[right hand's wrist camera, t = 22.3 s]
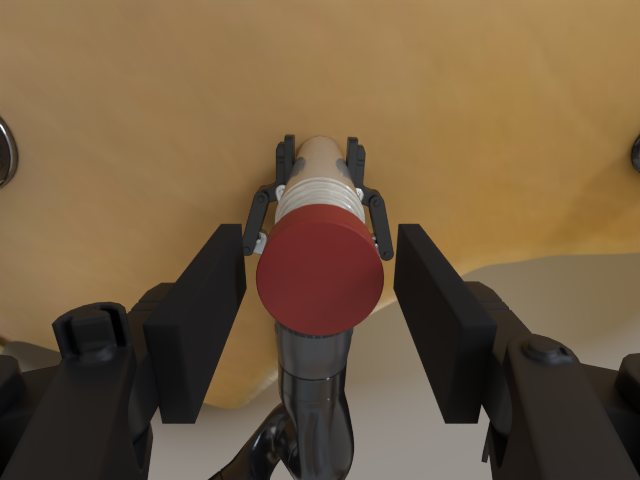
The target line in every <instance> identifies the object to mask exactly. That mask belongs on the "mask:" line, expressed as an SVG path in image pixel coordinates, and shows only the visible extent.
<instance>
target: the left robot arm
mask: <svg viewBox="0 0 640 480" xmlns="http://www.w3.org/2000/svg"><path fill="white" fill-rule="evenodd" d="M294 163H295V135H285V139H284V142H280V143H279V144H278V146H277V149H276V182H274V183H273V184H270V185H267V186H266V185H264V186H261V187H260V188H259V190H258V191H257V193H256V194H255V196H254V199H253V202H252V206H251V210H250V213H249V217H248V221H247V224H246V228H245V232H244V235H243V250H244V255H245V256H249V255H251V254H252V253H256V254H260V255H262V252H263V249H264V247H265V244H266V241H267V238H268V233H267V231H265V230H263V229H262V226H263V222H264V219H265V215H266V212H267V208H268V205H269V203H270V202H273V201H276V200H278V202H279V201H280V199H281V196H282V193H283V191H284V188H285V186H286V183H287V181H288V178H289V175H290V173H291V170H292V168H293V165H294ZM346 165H347V168H348V170H349V173H350V175H351V178H352V181H353V183H354V186H355V188H356V191H357V193H358V196H359V198H360V201H361V204H363V205H366V206H368V208H369V213H370V218H371V222H372V227H373V232H374V233H373V234H371V236H372V238H373V241H374V244H375V246H376V249H377V252H378V254H379V257H381V259H383V260H385V261H388V260H391V259H392V258H393V256H394V252H393V246H392V241H391V236H390V230H389V225H388V220H387V214H386V209H385V204H384V200H383V198H382V197H381V196H380V193H379V192H378V191H377V190H374V189H369V188H367V187H365V186H364V185H363V177H364V165H365V150H364V147H363V146H362V145H358V139H357V137H348V140H347V154H346ZM16 167H17V150H16V145H15V142H14V139H13V137H12V135H11V133H10V131H9V129H8V128H7V126H6V125H5V123H4V122H3V121H2V119H1V118H0V188H1V187H3V186H4V185H6V184H7V183H8V182H9V181H10V180H11V178H12V177H13V175H14V173H15V170H16ZM274 328H275V332H276V345H277V350H278V386H279V394H280V398H281V400H282V402H281V403H280V404H279V405H278V406H276V407H275V408H274V409H273V410H272V412H271V413H270V414H269V415H268V416H267V418H266V419H265V420H264V421H263V423H262V424H261V425H260V426H259V428H258V429H257V430H256V431H255V433H254V434H253V435H252V436H251V438H250V439H249V440H248V441H247V442H246V444H245V445H244V446H243V447H242V449H241V450H240V451H239V452H238V454H237V455H236V456H235V457H234V459H233V460H232V461H231V462H230V463H229V464H227V465H226V466H225V467H224V468H222V469H221V470H220V471H218V472H217V473H216V474H215V475H213V476H212V477H211V478H209V479H208V480H270V477H271V474H272V472H273V470H274V468H275V467H276V465H277V464H278V462H279V461H280V460H282V461H283V463H284V465H285V466H286V468H287V469H288V471H289V472H290V474H291V476H292V477H293V479H294V480H345V478H346V476H347V475H348V473H349V470H350V468H351V465H352V461H353V455H354V437H353V430H352V424H351V419H350V414H349V408H348V404H347V400H346V396H345V392H344V387H345V377H346V365H347V356H348V352H349V348H350V344H351V336H352V334H353V327H352V328H350V329H348V330H346V331H343V332H340V333H336V334H330V335H309V334H304V333H300V332H297V331H294V330H292V329H290V328H288V327H286V326H284V325H283V324H281V323H280V322H279V321H277V320H276V321H275V324H274Z"/></svg>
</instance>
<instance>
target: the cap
mask: <svg viewBox="0 0 640 480" xmlns="http://www.w3.org/2000/svg"><path fill="white" fill-rule="evenodd" d="M256 284H257V289H258V294H259V296H260V299H261V301H262V303H263V305H264V306H265V308H266V309H267V310H268V312H269V313H270V314H271V315H272V316H273V317H274V318H275V319H276V320H277V321H279V322H280V323H281V324H283V325H284V326H286V327H288V328H290V329H292V330H294V331H297V332H300V333H304V334H309V335H330V334H336V333H340V332H343V331H346V330H348V329H350V328H352V327H354V326H356V325H357V324H359V323H360V322H362V321H363V320H364V319H365V318H366V317H367V316H368V315H369V314H370V313H371V312H372V311H373V309H374V308H375V306H376V305H377V303H378V301H379V299H380V296H381V293H382V290H383V285H384V272H383V266H382V262H381V260H380V257H379V254H378V252H377V249H376V246H375V244H374V241H373V238H372V236H371V233H370V232H369V230H368V228H367V227H366V225H365V224H364V223H363V222H362V221H361V220H360V219H359V218H358V217H357V216H356V215H354V214H353V213H351V212H350V211H348V210H346V209H344V208H341V207H339V206H335V205H331V204H310V205H305V206H301V207H299V208H296V209H294V210H292V211H290V212H289V213H287V214H286V215H284V216H283V217H282V218H281V219H280V220H279V221H278V222H277V223H276V224H275V226H274V227H273V228H272V230H271V232H270V234H269V236H268V238H267V241H266V244H265V247H264V249H263V252H262V255H261V257H260V260H259V263H258V267H257V272H256Z"/></svg>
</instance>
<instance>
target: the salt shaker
mask: <svg viewBox="0 0 640 480" xmlns="http://www.w3.org/2000/svg"><path fill="white" fill-rule="evenodd" d="M632 162H633V165H634V167H635V169H637V170H638V171H639V172H640V137H639V138H638V140H637V141H636V143H635V146H634V148H633V152H632Z"/></svg>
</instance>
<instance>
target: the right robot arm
mask: <svg viewBox="0 0 640 480" xmlns="http://www.w3.org/2000/svg"><path fill="white" fill-rule="evenodd" d="M246 289H247V287H246V275H245V262H244V250H243V238H242V226H241V224H221V225H220V226H219V227H218V229H217V230H216V231H215V232H214V234H213V235H212V236H211V238H210V239H209V240H208V241H207V243H206V244H205V245H204V247H203V248H202V249H201V250H200V252H199V253H198V254H197V255H196V257H195V258H194V259H193V261H192V262H191V263H190V264H189V266H188V267H187V268H186V270H185V271H184V272H183V273H182V275H181V276H180V277H179V279H178V280H177V281H176V282H175V283H160V284H159V285H157V286H155V287H154V288H152V289H150V290H148V291H147V292H146V293H145V294H144V295H143V297H142V298H141V299H140V300H139V302H138V303H136V304H135V306H134V307H133V308H132V309H131V311H129V312H128V313H127V314H126V310H125V307H124V306H122V305H121V304H119V303H113V302H98V303H93V304H88V305H84V306H81V307H78V308H76V309H73V310H70V311H69V312H67V313H65V314H63V315H62V316H60V317H59V318H58V319H57V320H56V321H55V322H54V323H53V324H52V327H53V330H54V333H55V337H56V340H57V343H58V346H59V349H60V353H61V356H62V360H61V362H60V364H59V365H57V366H52V367H47V368H42V369H37V370H32V371H28V372H22V371H21V368H20V366H19V363H18V360H17V359H15V358H14V357H12V356H7V355H0V480H148V472H149V465H150V457H151V449H152V442H153V433H152V427H151V423H150V421H151V419H152V417H153V415H154V413H155V411H156V409H157V408H158V406H159V409H160V414H161V419H162V423H163V424H194V423H195V421H196V419H197V416H198V414H199V411H200V408H201V406H202V403H203V401H204V398H205V395H206V393H207V390H208V388H209V385H210V382H211V380H212V377H213V375H214V372H215V369H216V367H217V364H218V362H219V359H220V356H221V354H222V351H223V349H224V346H225V343H226V341H227V338H228V336H229V333H230V330H231V328H232V325H233V322H234V320H235V317H236V315H237V312H238V309H239V307H240V304H241V302H242V299H243V296H244V294H245V291H246ZM393 289H394V291H395V294H396V296H397V299H398V302H399V304H400V307H401V309H402V312H403V315H404V317H405V320H406V322H407V325H408V328H409V330H410V333H411V336H412V338H413V341H414V343H415V346H416V349H417V351H418V354H419V356H420V359H421V361H422V364H423V367H424V369H425V372H426V375H427V377H428V380H429V382H430V385H431V388H432V390H433V393H434V395H435V398H436V401H437V403H438V406H439V408H440V411H441V414H442V416H443V419H444V421H445V423H446V424H477V423H478V419H479V414H480V409H481V404H482V406H483V408H484V409H485V411H486V413H487V415H488V417H489V419H490V423H489V427H488V432H487V436H486V441H485V445H484V450H483V455H482V462H485V463H487V460H488V455H489V456H490V464H491V471H492V479H493V480H640V353H636V354H629V355H627V356H626V357H624V358H623V360H622V363H621V366H620V368H619V371H616V370H611V369H606V368H601V367H596V366H591V365H586V364H582V363H580V361H579V359H578V358H577V357H576V355H575V354H574V353H573V352H572V351H571V350H570V349H569V348H567V347H566V346H564V345H563V344H561V343H560V342H557V341H555V340H553V339H551V338H548V337H545V336H541V335H537V334H532V333H531V332H530V331H529V330H528V328H527V327H526V326H525V325H524V324H523V323H522V322H521V321H520V320H519V318H518V317H517V316H516V315H515V314H514V313H513V312H512V311H511V310H509V307H508V306H507V305H506V304H505V303H504V302H502V299H501V298H500V297H499V296H498V295H497V294H496V293H495V292H494V291H493V290H492V289H491V288H489V287H487V286H485V285H484V284H482V283H480V282H464V281H463V280H462V279H461V277H460V276H459V275H458V273H457V272H456V271H455V270H454V268H453V267H452V266H451V264H450V263H449V262H448V261H447V259H446V258H445V257H444V255H443V254H442V253H441V252H440V250H439V249H438V248H437V247H436V245H435V244H434V243H433V241H432V240H431V239H430V238H429V236H428V235H427V234H426V232H425V231H424V230H423V229H422V227H421V226H420V225H419V224H399V226H398V238H397V250H396V262H395V275H394V287H393Z"/></svg>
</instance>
